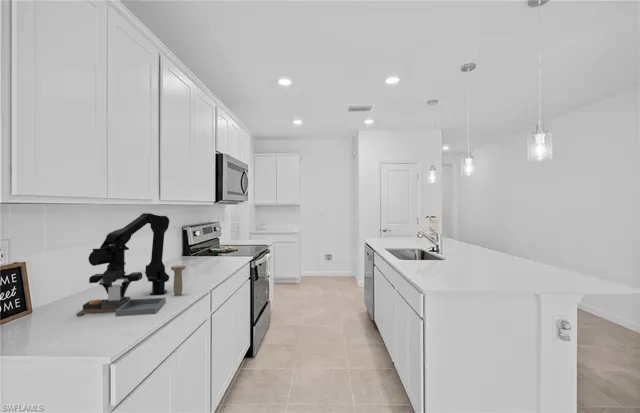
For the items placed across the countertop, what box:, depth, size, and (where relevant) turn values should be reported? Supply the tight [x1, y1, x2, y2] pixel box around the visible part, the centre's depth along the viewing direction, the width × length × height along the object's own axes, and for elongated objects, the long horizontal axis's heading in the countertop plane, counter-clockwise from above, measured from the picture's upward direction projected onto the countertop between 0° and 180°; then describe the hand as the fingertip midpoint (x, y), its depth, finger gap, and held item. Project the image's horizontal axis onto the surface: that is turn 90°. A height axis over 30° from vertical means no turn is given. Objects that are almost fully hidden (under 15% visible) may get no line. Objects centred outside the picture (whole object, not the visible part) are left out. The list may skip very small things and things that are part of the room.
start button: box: [88, 299, 103, 304], centre depth 130 cm, size 4×4×2 cm
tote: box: [114, 297, 167, 317], centre depth 129 cm, size 15×15×3 cm
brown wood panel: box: [76, 296, 131, 317], centre depth 131 cm, size 15×16×4 cm
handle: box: [170, 264, 186, 297], centre depth 149 cm, size 5×6×15 cm
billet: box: [107, 283, 125, 302], centre depth 132 cm, size 4×4×7 cm
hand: (116, 297), depth 132 cm, fingers closed on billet, 4 cm apart
